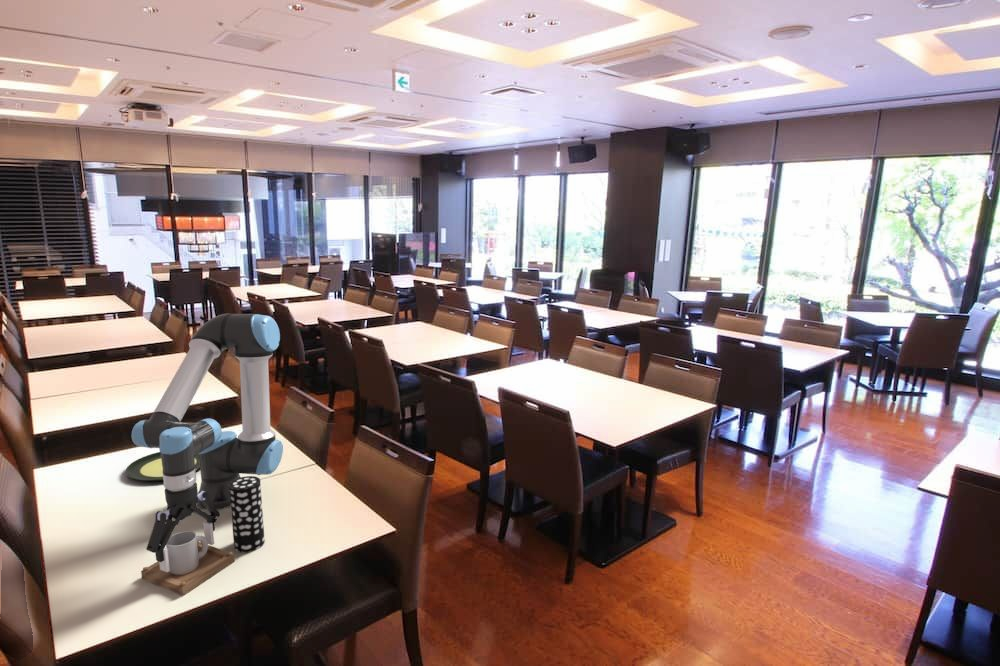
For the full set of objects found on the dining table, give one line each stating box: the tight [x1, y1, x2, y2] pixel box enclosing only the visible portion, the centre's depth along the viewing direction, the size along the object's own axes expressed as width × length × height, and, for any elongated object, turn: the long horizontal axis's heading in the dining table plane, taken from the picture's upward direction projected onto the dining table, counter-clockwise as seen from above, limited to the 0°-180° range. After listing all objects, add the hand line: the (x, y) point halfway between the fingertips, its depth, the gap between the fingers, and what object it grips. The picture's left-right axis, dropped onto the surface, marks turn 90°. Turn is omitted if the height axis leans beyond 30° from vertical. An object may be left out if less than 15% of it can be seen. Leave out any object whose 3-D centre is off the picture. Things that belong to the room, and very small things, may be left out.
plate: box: [124, 451, 200, 482], centre depth 213 cm, size 28×28×2 cm
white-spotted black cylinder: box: [229, 475, 266, 553], centre depth 163 cm, size 8×8×20 cm
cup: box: [165, 530, 209, 576], centre depth 152 cm, size 7×10×9 cm
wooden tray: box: [140, 541, 236, 596], centre depth 153 cm, size 16×16×3 cm
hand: (188, 556), depth 152 cm, fingers open, 13 cm apart
